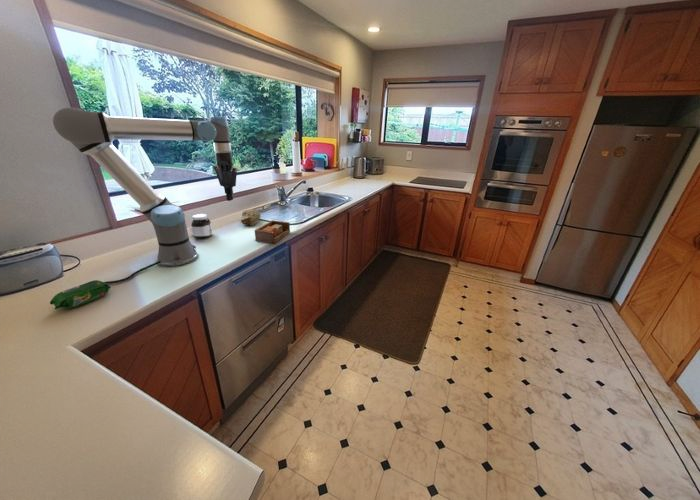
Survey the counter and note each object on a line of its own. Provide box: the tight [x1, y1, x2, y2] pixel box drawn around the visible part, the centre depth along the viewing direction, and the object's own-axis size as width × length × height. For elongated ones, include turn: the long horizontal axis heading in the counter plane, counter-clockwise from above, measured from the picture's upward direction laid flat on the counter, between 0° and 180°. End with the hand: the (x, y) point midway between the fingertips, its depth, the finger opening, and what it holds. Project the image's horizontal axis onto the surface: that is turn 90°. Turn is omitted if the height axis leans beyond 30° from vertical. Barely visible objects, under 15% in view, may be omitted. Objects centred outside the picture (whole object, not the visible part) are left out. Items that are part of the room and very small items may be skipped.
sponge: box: [240, 208, 261, 227], centre depth 176 cm, size 13×8×20 cm
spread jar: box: [189, 213, 213, 240], centre depth 150 cm, size 12×11×12 cm
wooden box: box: [254, 220, 291, 244], centre depth 154 cm, size 18×11×6 cm, turn 164°
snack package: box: [49, 279, 112, 310], centre depth 94 cm, size 7×16×5 cm, turn 153°
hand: (230, 200), depth 145 cm, fingers closed
